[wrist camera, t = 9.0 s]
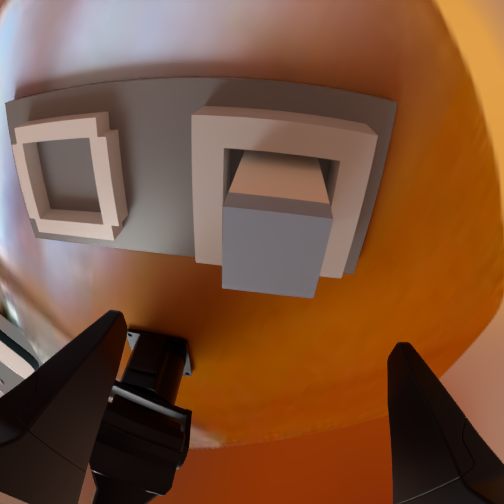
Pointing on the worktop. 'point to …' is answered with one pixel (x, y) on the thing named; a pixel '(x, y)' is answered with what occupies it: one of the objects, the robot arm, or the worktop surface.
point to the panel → (190, 158)
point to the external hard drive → (16, 357)
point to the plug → (275, 225)
